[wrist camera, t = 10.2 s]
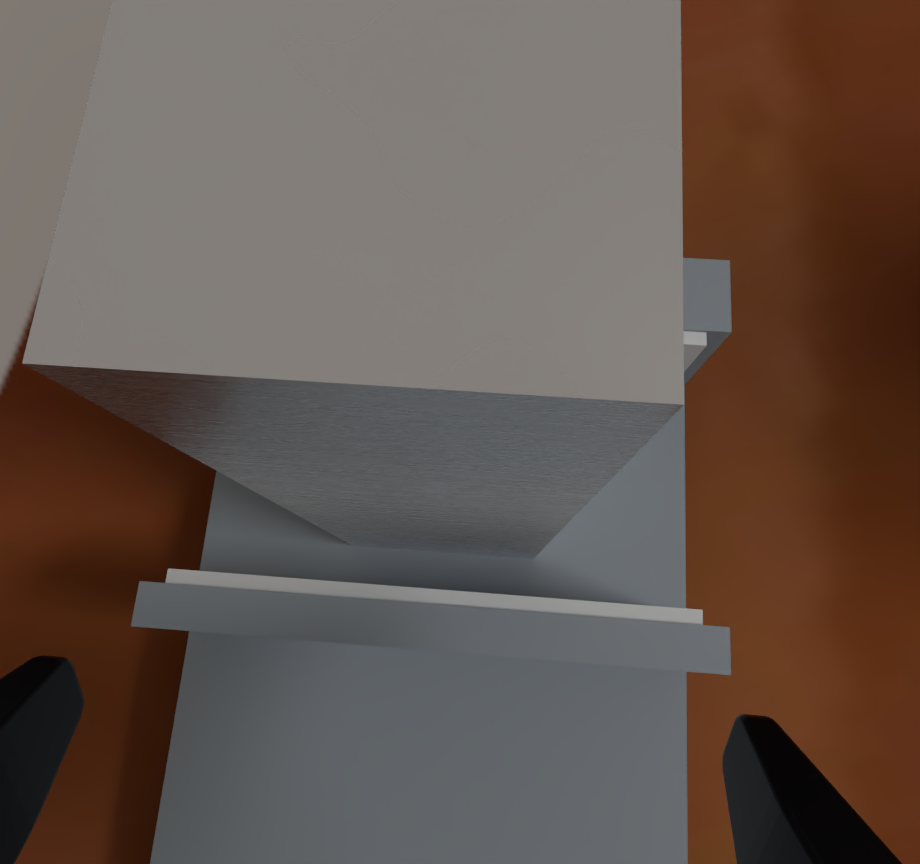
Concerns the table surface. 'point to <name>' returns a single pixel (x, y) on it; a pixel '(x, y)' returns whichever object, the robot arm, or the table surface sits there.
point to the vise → (442, 679)
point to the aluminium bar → (381, 254)
